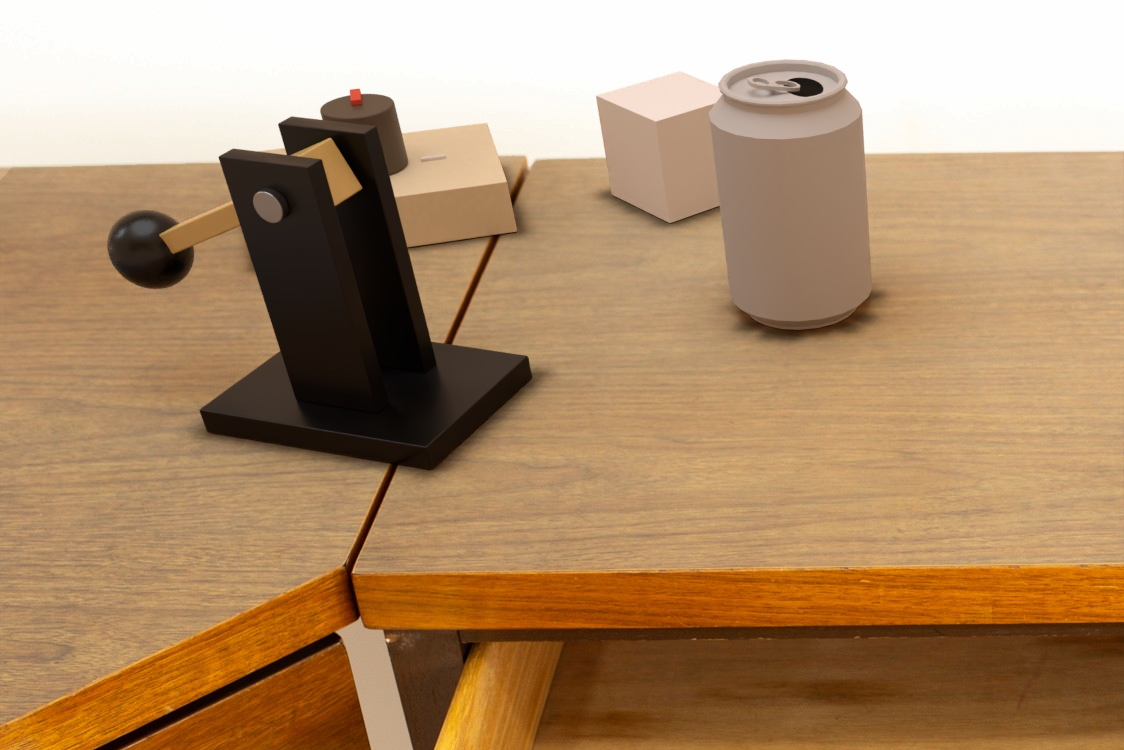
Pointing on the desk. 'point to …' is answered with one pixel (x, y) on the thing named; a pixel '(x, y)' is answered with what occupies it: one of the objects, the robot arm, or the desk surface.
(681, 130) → the pale pink cube
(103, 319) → the desk surface
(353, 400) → the bracket
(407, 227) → the plate
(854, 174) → the can
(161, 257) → the lever
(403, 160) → the lock knob
